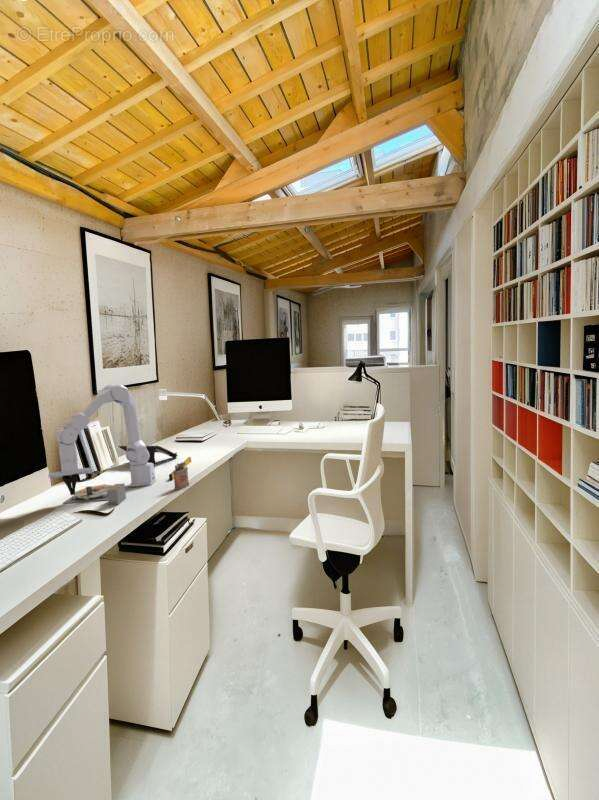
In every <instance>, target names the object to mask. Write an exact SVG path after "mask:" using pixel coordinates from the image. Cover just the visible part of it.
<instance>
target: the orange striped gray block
mask: <svg viewBox="0 0 599 800" xmlns="http://www.w3.org/2000/svg"><path fill="white" fill-rule="evenodd" d="M113 485H114V486H112V487H111V488H110V489H108V490H107V494H108V500H107V501H108V502H107V503H108V506H109V505H113V506H116V507H117V506H119V505H120V504H121V503H123V502H124V501H125V500H126V499H127V494H126V488H125V486H126V484H125V483H115V484H113ZM113 506H112V507H113Z"/></svg>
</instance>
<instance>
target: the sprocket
mask: <svg viewBox="0 0 599 800" xmlns="http://www.w3.org/2000/svg"><path fill="white" fill-rule="evenodd" d="M114 485H115V484H113V485H112V484H106V483H105V484H100V485H93V486H89V485H88V486H86V487H85V488H82V489H79V490H77V491H76V490H75V495H72V496H73V499H85V500H89V499H94V498H100V497H107V495H108V494H107V490H108V489H110V488H111V487H112V486H114Z"/></svg>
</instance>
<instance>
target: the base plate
mask: <svg viewBox="0 0 599 800" xmlns="http://www.w3.org/2000/svg"><path fill="white" fill-rule="evenodd" d="M127 487H128V486H127V485H125V489H126V488H127ZM73 496H74V495H71V497H69V498H68V499H66V500H65V501H64V502H62V504H64V505H65V504H76V503H77V504H78V503H91V502H105V501H108V495H107V497H100V498H94V499H89V500H85V499H73Z"/></svg>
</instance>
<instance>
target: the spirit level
mask: <svg viewBox="0 0 599 800" xmlns="http://www.w3.org/2000/svg"><path fill="white" fill-rule="evenodd" d="M183 462H185V464H186V465H184V467H186V466H187V465H188V464H189V463H190V462H191V463H192V457H191V456H188V457H187V458H186V459H185V460H184V461H183ZM191 463H190V464H191ZM190 464H189V465H190ZM189 465H188V466H189ZM188 466H187V467H188ZM175 470H176V469H175V468H174V470H173V471H175ZM173 471H172V472H170V474H169V475H168V478H169V481H174V474H173Z"/></svg>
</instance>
